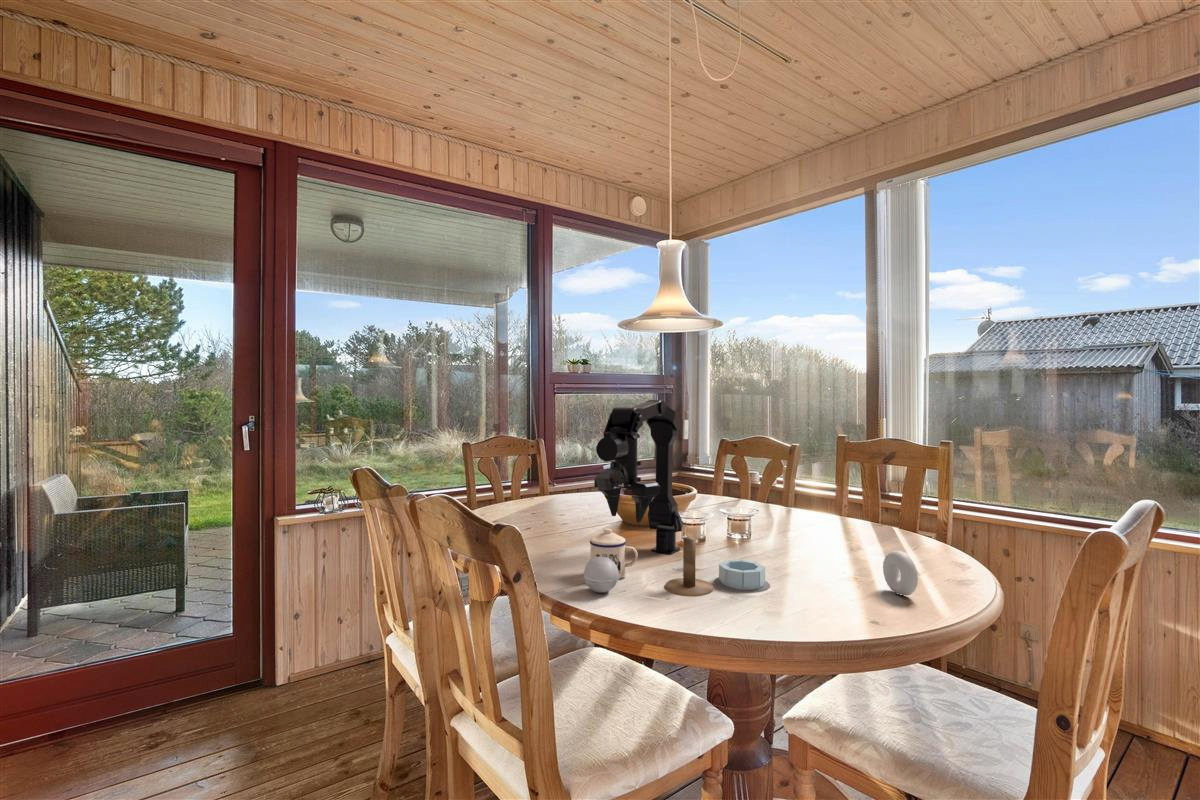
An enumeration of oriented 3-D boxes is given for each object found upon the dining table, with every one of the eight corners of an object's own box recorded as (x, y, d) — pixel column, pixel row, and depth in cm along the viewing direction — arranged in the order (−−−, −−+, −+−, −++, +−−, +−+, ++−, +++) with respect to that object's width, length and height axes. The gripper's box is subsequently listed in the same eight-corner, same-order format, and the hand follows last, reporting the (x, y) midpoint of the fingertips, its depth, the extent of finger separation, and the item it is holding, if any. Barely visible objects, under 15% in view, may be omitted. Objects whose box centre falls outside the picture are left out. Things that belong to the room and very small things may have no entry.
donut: (879, 587, 133) (879, 545, 133) (893, 587, 134) (893, 545, 134) (906, 603, 123) (906, 557, 123) (921, 602, 124) (921, 556, 124)
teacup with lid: (588, 581, 137) (588, 533, 137) (590, 569, 146) (591, 524, 146) (637, 582, 137) (638, 533, 137) (637, 570, 146) (637, 525, 146)
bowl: (729, 574, 142) (729, 557, 142) (769, 581, 136) (769, 564, 136) (713, 585, 133) (713, 567, 133) (755, 593, 128) (755, 574, 128)
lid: (678, 579, 139) (678, 530, 139) (720, 587, 133) (720, 536, 133) (657, 591, 130) (657, 539, 130) (701, 601, 124) (701, 546, 124)
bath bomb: (620, 587, 133) (620, 553, 133) (615, 598, 125) (616, 562, 125) (587, 585, 134) (587, 551, 134) (580, 596, 126) (580, 560, 126)
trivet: (725, 573, 144) (725, 571, 144) (777, 582, 136) (777, 581, 136) (705, 587, 133) (705, 585, 133) (759, 598, 126) (759, 596, 126)
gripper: (577, 456, 144) (578, 517, 144) (627, 463, 130) (627, 531, 130) (610, 453, 151) (610, 511, 151) (661, 459, 137) (661, 523, 137)
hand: (626, 519), depth 142 cm, fingers open, 9 cm apart
